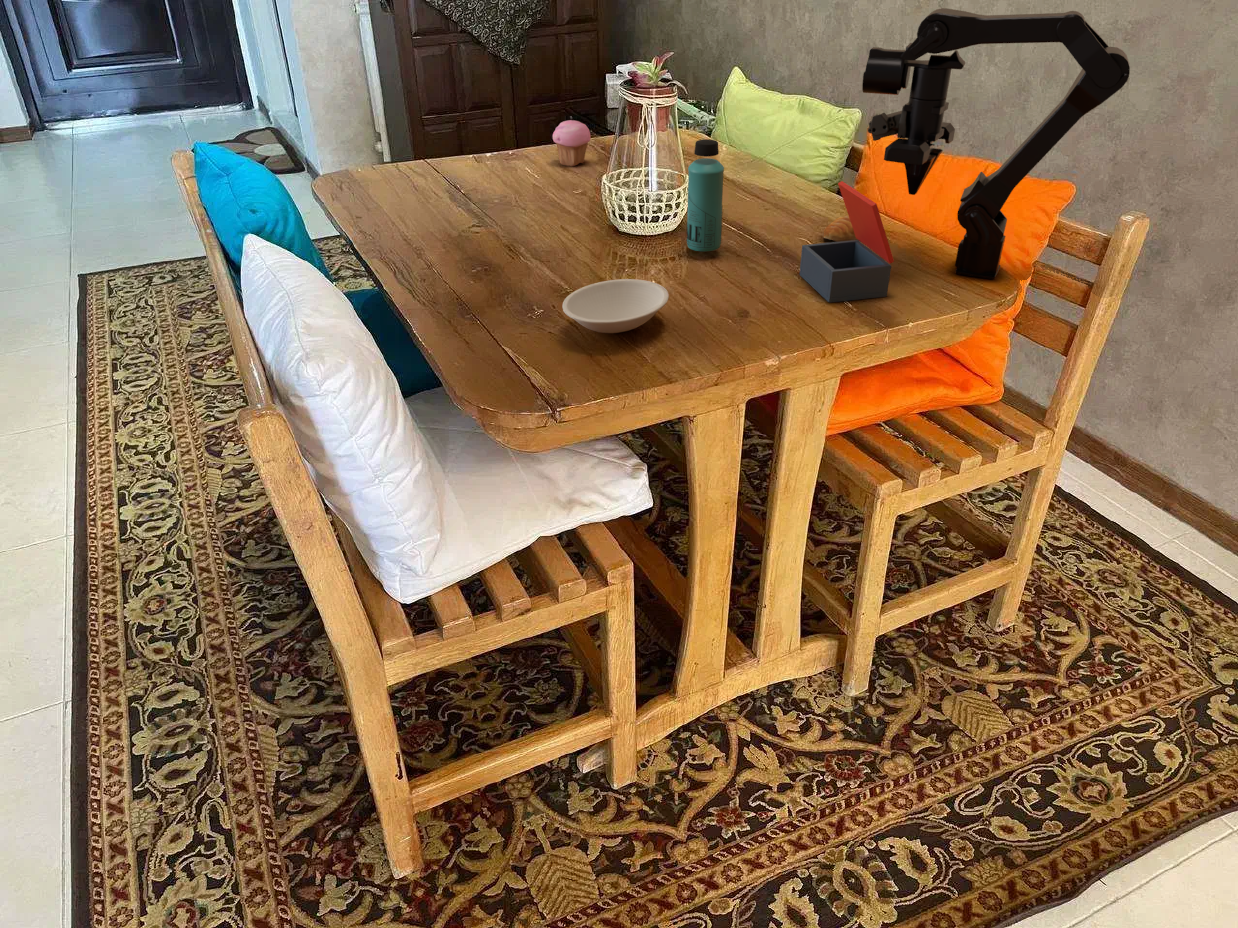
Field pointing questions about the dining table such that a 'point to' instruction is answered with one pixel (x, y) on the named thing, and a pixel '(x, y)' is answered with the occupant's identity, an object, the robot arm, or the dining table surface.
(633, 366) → the dining table surface
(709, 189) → the beverage bottle
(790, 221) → the dining table surface
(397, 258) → the dining table surface
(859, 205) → the lid
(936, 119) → the robot arm
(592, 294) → the dish
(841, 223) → the pastry
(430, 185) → the dining table surface
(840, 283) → the lunchbox
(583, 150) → the cupcake
